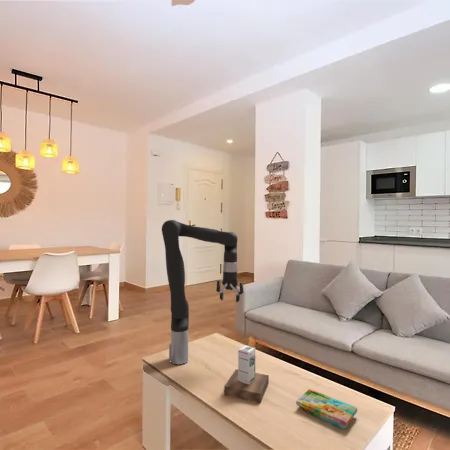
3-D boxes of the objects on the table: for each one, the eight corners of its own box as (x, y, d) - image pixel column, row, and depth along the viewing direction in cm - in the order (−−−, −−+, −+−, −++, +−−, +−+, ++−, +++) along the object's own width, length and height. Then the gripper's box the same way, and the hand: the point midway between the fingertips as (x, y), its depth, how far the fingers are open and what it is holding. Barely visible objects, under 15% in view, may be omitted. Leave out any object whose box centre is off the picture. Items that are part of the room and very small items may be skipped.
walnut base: (224, 395, 133) (224, 386, 133) (235, 377, 148) (235, 369, 148) (260, 403, 128) (260, 393, 128) (268, 383, 143) (268, 375, 143)
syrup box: (249, 385, 134) (249, 352, 134) (237, 380, 137) (238, 348, 137) (255, 379, 139) (256, 347, 138) (244, 375, 142) (244, 344, 142)
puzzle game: (346, 420, 111) (296, 398, 124) (346, 433, 111) (295, 410, 124) (357, 405, 120) (309, 386, 133) (357, 417, 120) (309, 397, 133)
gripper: (214, 270, 161) (214, 301, 161) (241, 272, 156) (240, 304, 156) (220, 268, 168) (219, 297, 168) (245, 270, 163) (244, 300, 163)
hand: (229, 301), depth 162 cm, fingers open, 8 cm apart
